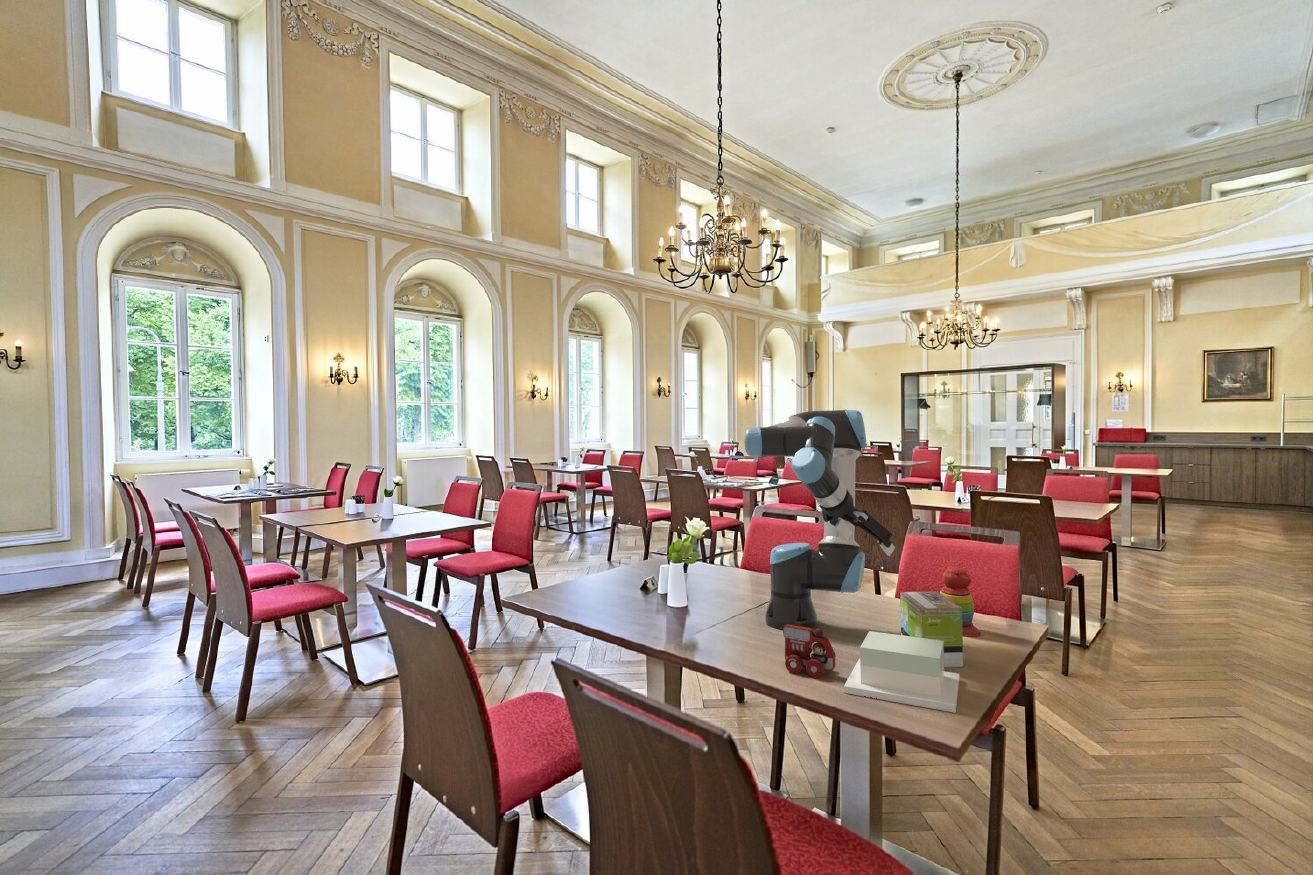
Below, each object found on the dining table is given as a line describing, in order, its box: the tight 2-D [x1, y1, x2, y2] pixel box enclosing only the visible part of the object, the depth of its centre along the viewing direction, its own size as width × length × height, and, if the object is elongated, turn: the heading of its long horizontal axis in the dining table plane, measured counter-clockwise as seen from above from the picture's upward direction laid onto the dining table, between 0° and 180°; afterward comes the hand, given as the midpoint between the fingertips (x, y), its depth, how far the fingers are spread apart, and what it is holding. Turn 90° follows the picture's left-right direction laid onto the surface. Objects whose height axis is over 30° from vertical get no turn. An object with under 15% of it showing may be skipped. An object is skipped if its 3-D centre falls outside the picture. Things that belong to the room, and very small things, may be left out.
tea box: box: [899, 590, 964, 668], centre depth 156 cm, size 15×10×15 cm, turn 178°
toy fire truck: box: [782, 624, 836, 679], centre depth 149 cm, size 7×12×10 cm, turn 57°
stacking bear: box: [939, 565, 981, 637], centre depth 176 cm, size 11×10×18 cm
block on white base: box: [843, 630, 960, 714], centre depth 139 cm, size 22×18×10 cm
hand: (869, 543), depth 163 cm, fingers open, 13 cm apart
